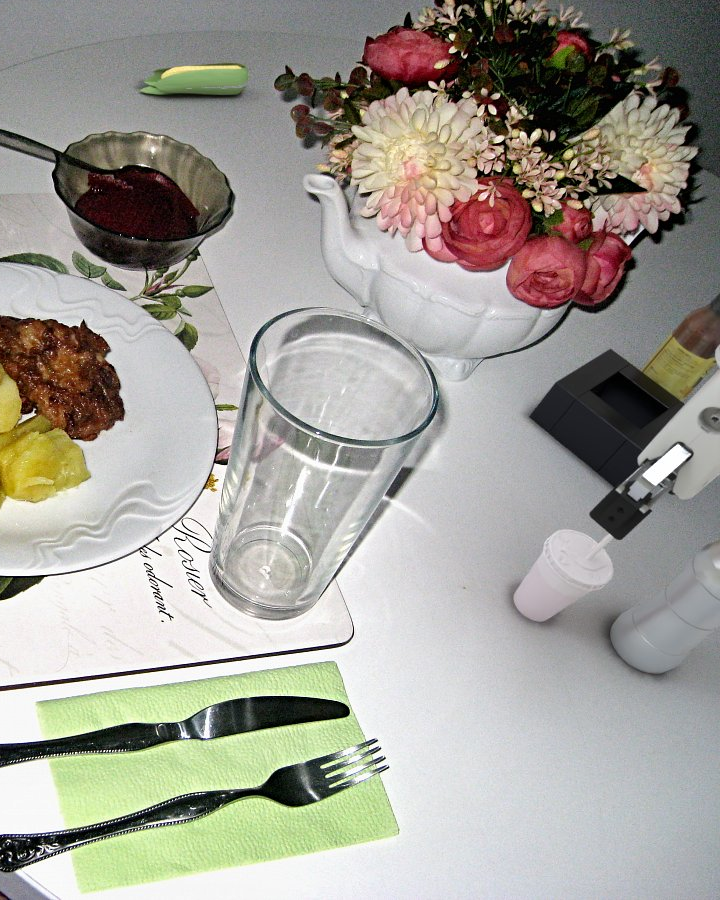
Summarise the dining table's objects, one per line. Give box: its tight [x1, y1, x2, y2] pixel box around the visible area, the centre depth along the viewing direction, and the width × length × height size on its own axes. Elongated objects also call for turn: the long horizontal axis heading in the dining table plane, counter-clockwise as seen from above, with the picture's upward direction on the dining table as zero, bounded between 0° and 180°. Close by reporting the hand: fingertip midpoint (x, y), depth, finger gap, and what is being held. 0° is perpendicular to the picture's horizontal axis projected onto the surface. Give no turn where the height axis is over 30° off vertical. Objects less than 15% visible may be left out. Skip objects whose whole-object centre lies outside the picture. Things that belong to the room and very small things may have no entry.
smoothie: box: [513, 528, 615, 623], centre depth 86 cm, size 6×6×14 cm
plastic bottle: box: [610, 539, 720, 675], centre depth 83 cm, size 6×7×20 cm
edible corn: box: [139, 62, 251, 96], centre depth 148 cm, size 5×20×5 cm, turn 112°
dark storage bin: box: [528, 348, 686, 488], centre depth 108 cm, size 13×13×7 cm
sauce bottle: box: [639, 292, 720, 403], centre depth 110 cm, size 6×6×20 cm
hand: (632, 504), depth 78 cm, fingers open, 9 cm apart
